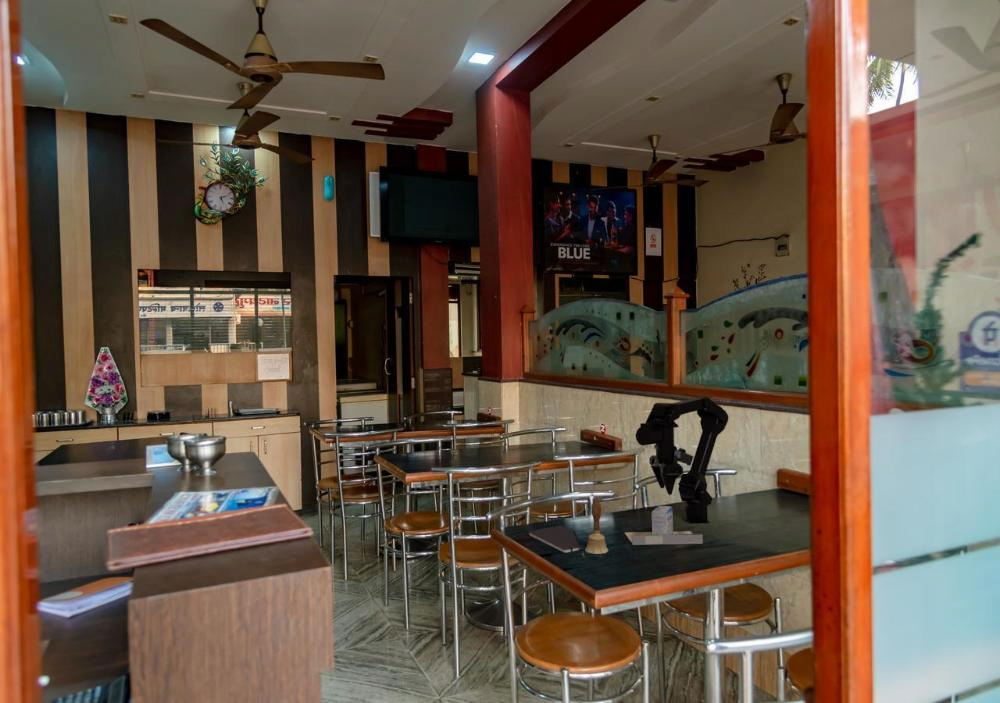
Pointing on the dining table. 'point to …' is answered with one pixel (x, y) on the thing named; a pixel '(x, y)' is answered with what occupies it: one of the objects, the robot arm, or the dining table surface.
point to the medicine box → (662, 520)
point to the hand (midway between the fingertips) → (666, 491)
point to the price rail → (667, 539)
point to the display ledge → (651, 534)
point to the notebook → (558, 538)
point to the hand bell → (596, 532)
